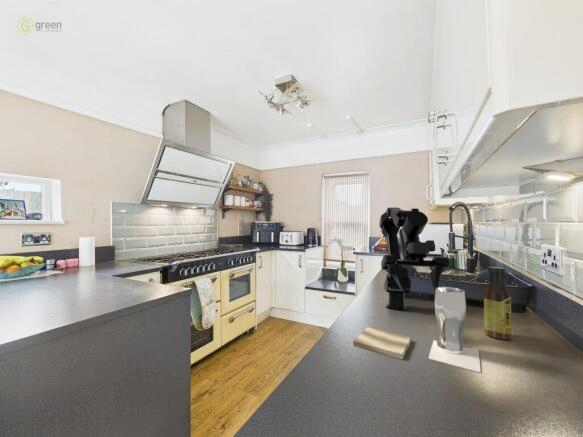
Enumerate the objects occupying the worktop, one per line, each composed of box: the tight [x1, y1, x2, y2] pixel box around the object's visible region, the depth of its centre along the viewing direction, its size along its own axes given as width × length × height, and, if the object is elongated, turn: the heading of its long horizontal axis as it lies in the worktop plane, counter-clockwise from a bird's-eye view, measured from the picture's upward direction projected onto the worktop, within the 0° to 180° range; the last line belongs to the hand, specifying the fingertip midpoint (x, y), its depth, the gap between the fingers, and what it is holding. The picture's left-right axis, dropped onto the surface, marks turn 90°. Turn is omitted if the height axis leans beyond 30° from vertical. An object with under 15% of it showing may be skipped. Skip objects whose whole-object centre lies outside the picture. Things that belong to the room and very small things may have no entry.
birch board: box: [352, 326, 412, 360], centre depth 68 cm, size 12×12×1 cm
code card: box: [427, 339, 482, 374], centre depth 63 cm, size 12×10×1 cm
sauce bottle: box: [483, 266, 513, 340], centre depth 75 cm, size 7×6×20 cm
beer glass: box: [434, 286, 467, 354], centre depth 66 cm, size 7×7×15 cm
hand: (419, 290), depth 74 cm, fingers open, 9 cm apart
